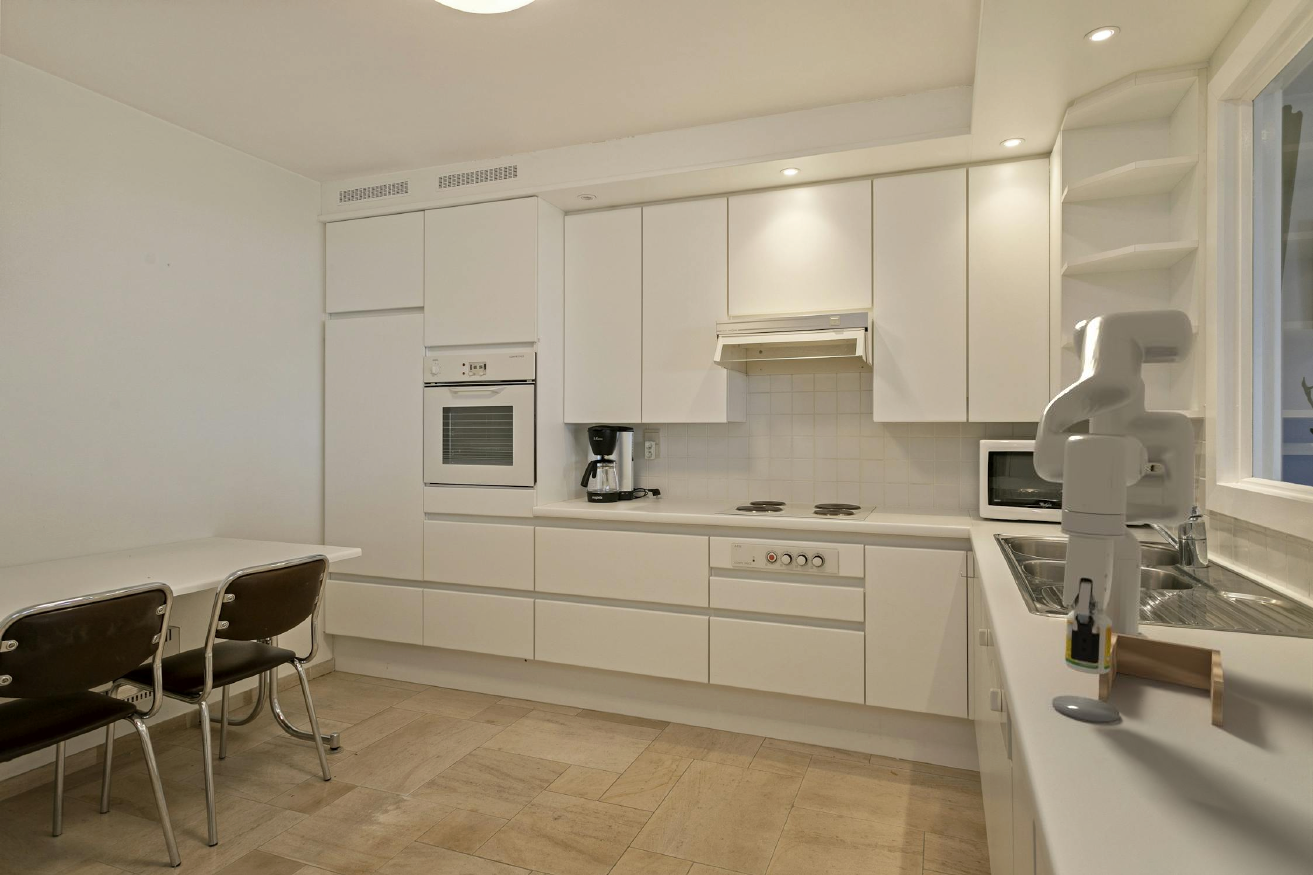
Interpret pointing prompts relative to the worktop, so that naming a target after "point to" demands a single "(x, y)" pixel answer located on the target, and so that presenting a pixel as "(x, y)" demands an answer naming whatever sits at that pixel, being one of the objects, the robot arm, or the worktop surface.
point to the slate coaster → (1086, 709)
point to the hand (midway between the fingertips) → (1087, 653)
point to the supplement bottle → (1104, 645)
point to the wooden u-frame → (1166, 666)
